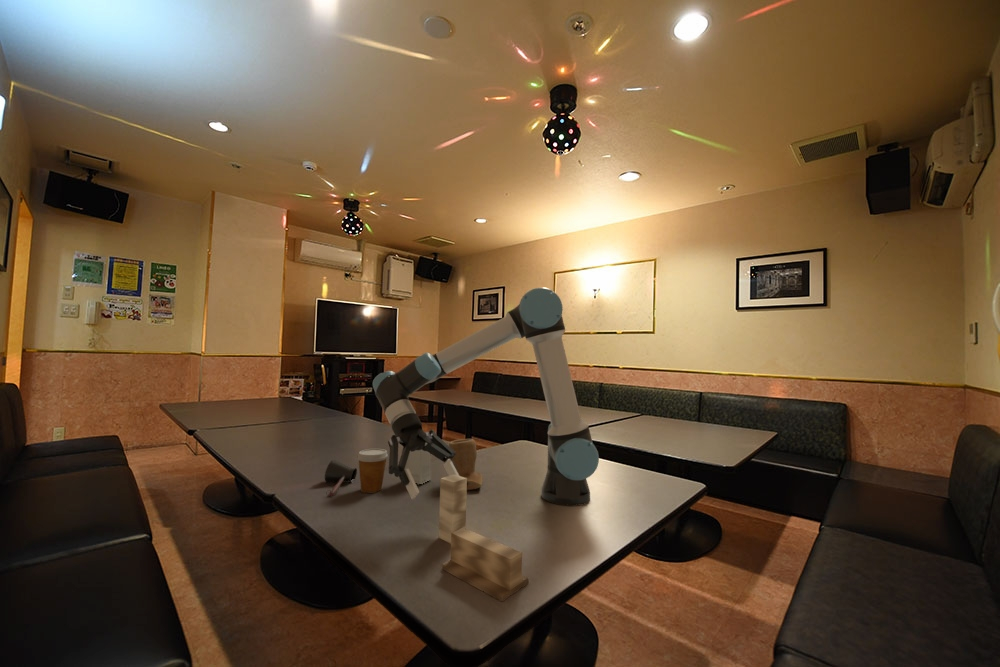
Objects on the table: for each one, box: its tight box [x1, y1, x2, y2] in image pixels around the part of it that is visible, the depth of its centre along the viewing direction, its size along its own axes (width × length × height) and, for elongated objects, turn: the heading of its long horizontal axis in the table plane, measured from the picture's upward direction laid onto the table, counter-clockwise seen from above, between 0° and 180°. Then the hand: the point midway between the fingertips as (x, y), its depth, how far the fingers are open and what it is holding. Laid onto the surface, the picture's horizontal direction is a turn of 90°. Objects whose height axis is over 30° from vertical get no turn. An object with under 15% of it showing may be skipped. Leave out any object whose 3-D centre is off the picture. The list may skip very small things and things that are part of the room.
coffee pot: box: [324, 459, 358, 497], centre depth 130 cm, size 8×18×8 cm
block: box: [438, 474, 468, 544], centre depth 96 cm, size 4×4×14 cm
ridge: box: [441, 528, 529, 602], centre depth 80 cm, size 16×8×6 cm, turn 50°
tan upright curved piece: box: [448, 438, 483, 491], centre depth 136 cm, size 15×12×15 cm
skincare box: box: [404, 443, 432, 485], centre depth 138 cm, size 8×6×15 cm
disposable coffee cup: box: [356, 448, 389, 493], centre depth 128 cm, size 10×10×12 cm
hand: (437, 489), depth 99 cm, fingers open, 13 cm apart
